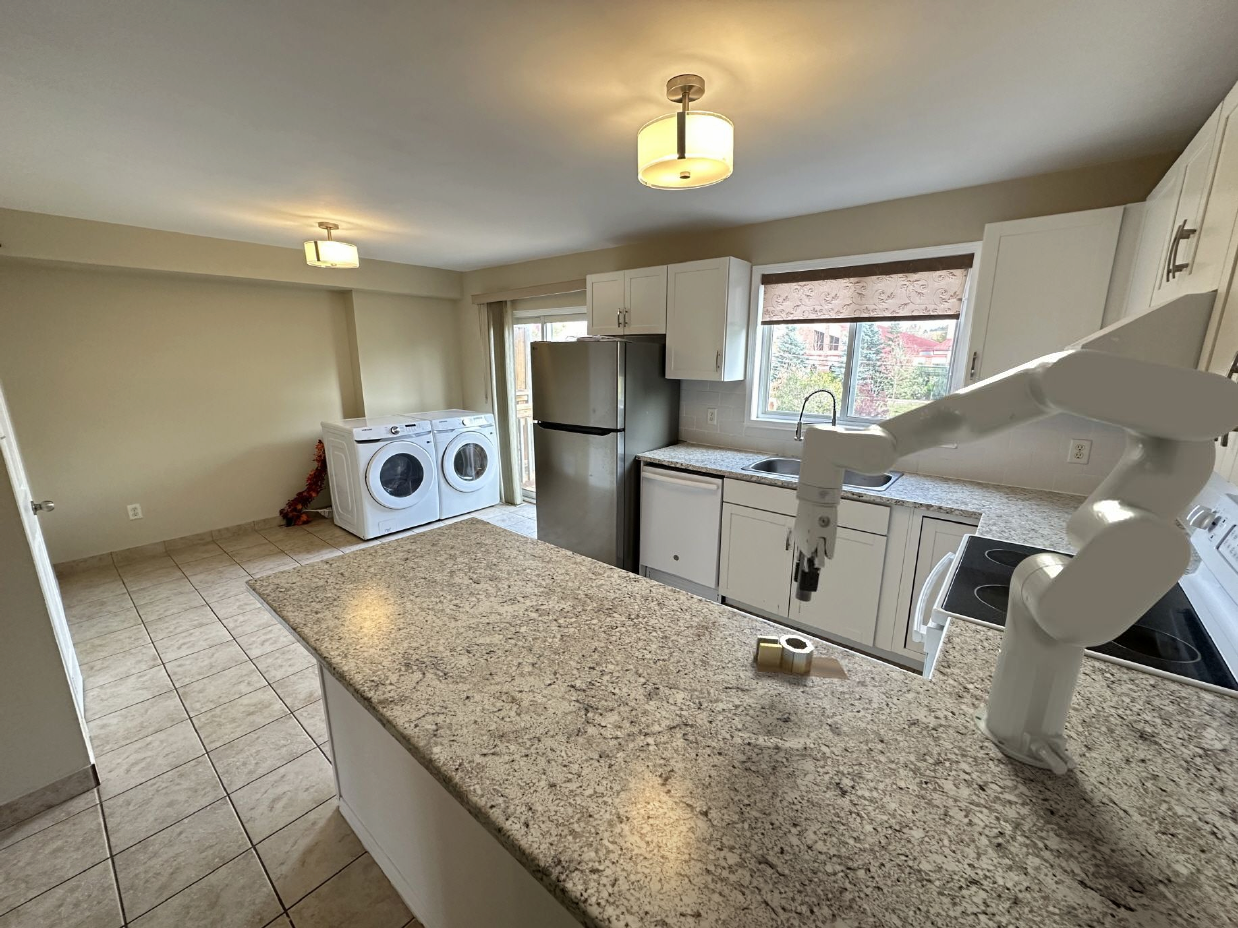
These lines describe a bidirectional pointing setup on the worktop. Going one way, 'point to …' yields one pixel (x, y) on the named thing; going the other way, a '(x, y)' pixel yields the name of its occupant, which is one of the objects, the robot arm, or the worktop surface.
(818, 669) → the base board
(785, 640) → the hinge
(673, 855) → the worktop surface
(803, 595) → the hinge pin
